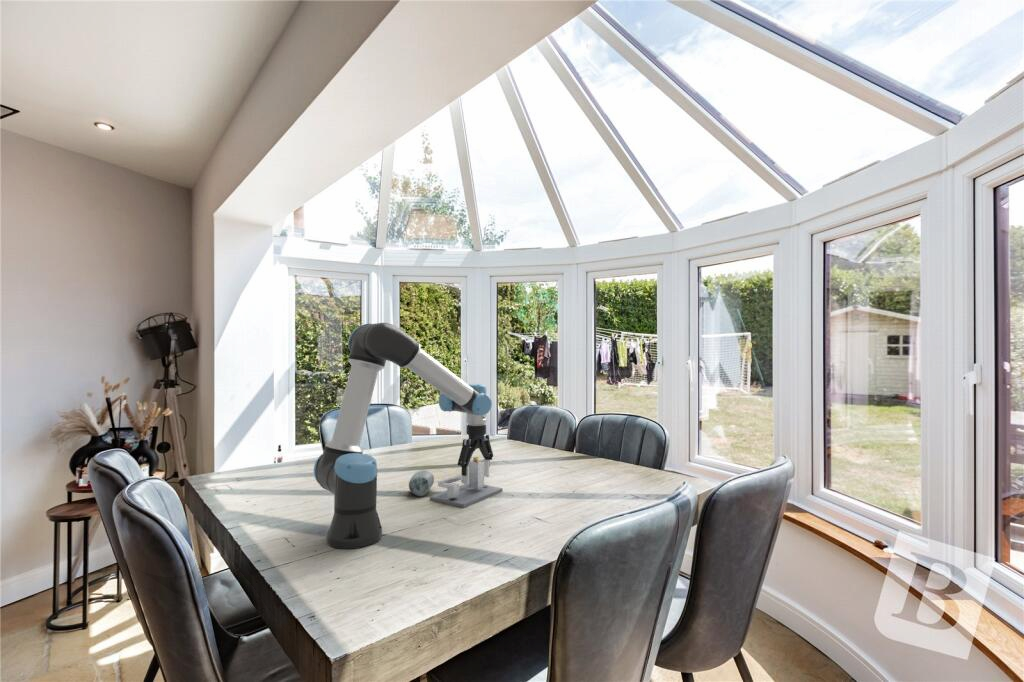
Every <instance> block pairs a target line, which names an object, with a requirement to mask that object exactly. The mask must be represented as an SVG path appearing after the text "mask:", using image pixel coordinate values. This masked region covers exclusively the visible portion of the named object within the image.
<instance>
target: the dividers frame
mask: <svg viewBox="0 0 1024 682" xmlns="http://www.w3.org/2000/svg"><path fill="white" fill-rule="evenodd" d="M461 480H462V473H460V474H457V475H455V476H451V477H449V478H446V479H442V480H440V481H437V487H439V488H444V489H446V491H447V496H449V497H452V499H454V497H456V496H459V486H460V484H459V483H456V482H458V481H461Z"/></svg>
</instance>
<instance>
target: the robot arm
mask: <svg viewBox="0 0 1024 682" xmlns="http://www.w3.org/2000/svg"><path fill="white" fill-rule="evenodd" d="M347 345H348V346H347V347H348V349H349V351H350V352H349V356H348V359H347V360H348V362H349V364H350V372H349V375H348V378H347V383H346V387H345V389H344V393H343V397H342V400H341V404H340V409H339V412H338V415H337V419H336V424H335V427H334V430H333V435H332V439H331V440H330V441H328V442H327V443H325V445H324V448H323V453H322V454H321V455H319V456H318V458H317V459H316V460H315V462H314V465H313V476H314V479H315V481H316V482H317V484H318V485H319V486H320V487H321V488H322V489H324V490H326V491H327V492H330V493H332V494H333V497H334V498H333V499H334V501H333V504H334V506H333V516H332V519H331V523H330V525H329V529H328V532H327V533H326V535H327V537H326V543H327V545H329V546H330V547H332V548H335V549H341V550H342V549H346V550H350V549H361V548H363V547H368V546H371V545H373V544H375V543H378V541H380V540H381V539H382V538H383V527H382V526H383V525H382V524H381V521H380V517H379V514H378V510H377V490H378V465H377V463H378V462H377V459H376V458H375V457H373V456H372V455H369V454H367V453H365V454H364V453H363V452H364V450H363V449H362V446H361V442H362V441H361V440H362V436H363V434H364V428H365V425H366V421H367V418H368V414H369V413H368V412H369V411H370V405H371V401H372V397H373V394H374V393H373V392H374V390H375V385H376V382H377V378H378V374H379V372H380V371H382V370H383V369H385V366H386V362H392V363H393V364H395V365H397V366H398V367H400V368H402V369H403V368H406V369H408V370H410V371H411V372H412V373H413V374H415V375H416V376H418V377H419V378H420V379H422V380H424V381H425V382H426V383H427V384H429V385H431V386H432V387H434V388H435V389H436V390H437V391H438V392H440V394H439V397H438V406H439V408H440V409H441V411H443V412H449V413H451V412H460V413H466V424H467V425H466V434H467V436H468V439H466V438H465V439H464V438H463V439H462V446H461V449H460V450H461V451H460V454H459V457H458V461H457V466H459V467H461V474H462V479H461V480H462V482H461V485H463V484H467V485H468V484H469V467H468V464H469V461H470V460H472V458H473V457H472V456H473V454H474V452H475V451H476V450H477V449H478V450H479V451H480V453H481V455H482V457H483V459H482V461H484V478H490V464H491V463H490V462H491V461H492V460H493V457H494V453H493V449H492V445H491V442H490V435H489V434H487V425H486V423H487V414H488V413H489V412H490V411H491V409H492V406H493V403H492V398H491V397H490V395H488V394H487V386H486V385H485V384H481V383H470V384H468V383H466V382H465V381H464V380H463V379H461V378H460V376H457V375H456V374H455V373H453V372H452V371H451V370H450V369H448V367H445V365H443V364H442V363H440V361H438V360H437V359H435V358H434V357H433V356H432V355H430V354H429V353H427V351H425V350H424V349H422V348H421V344H420V343H419V342H418V341H417V340H416V339H414V338H413V336H411V335H409V334H408V333H407V332H405V331H404V330H402V329H401V328H399V327H397V326H396V325H394V324H392V323H388V322H379V323H377V322H376V323H364V324H362V325H360V326H358V327H356V328H355V329H353V331H351V333H350V334H349V337H348V340H347Z"/></svg>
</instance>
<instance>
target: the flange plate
mask: <svg viewBox="0 0 1024 682" xmlns="http://www.w3.org/2000/svg"><path fill="white" fill-rule="evenodd" d="M501 492H503V488H502V487H498V486H492V485H488V484H484V487H483V488H480V489H477V490H475V489H474V488H469V487H468V485H467V484H461V485H459V496H456V497H454V499H452V497H449V496H447V490H444V491H442V492H441V491H440V492H439V493H435V494H433V495H430V496H429V500H430V501H432V502H437V503H442V504H445V505H450V506H455V507H459V508H463V509H465V508H468V507H469V506H472V505H474V504H476V503H479V502H481V501H483V500H486V499H487V498H490V497H494V496H495V495H497V494H499V493H501Z"/></svg>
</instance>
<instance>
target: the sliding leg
mask: <svg viewBox="0 0 1024 682" xmlns="http://www.w3.org/2000/svg"><path fill="white" fill-rule="evenodd" d="M468 467H469V484H468V487H469V488H474V489H475V490H477V489H480V488H483V487H484V485H485V476H484V461H483V459H480V457H478V456H476V457H472V459H470V461H469V464H468ZM460 482H461V483H462V479H461V480H460Z"/></svg>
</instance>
